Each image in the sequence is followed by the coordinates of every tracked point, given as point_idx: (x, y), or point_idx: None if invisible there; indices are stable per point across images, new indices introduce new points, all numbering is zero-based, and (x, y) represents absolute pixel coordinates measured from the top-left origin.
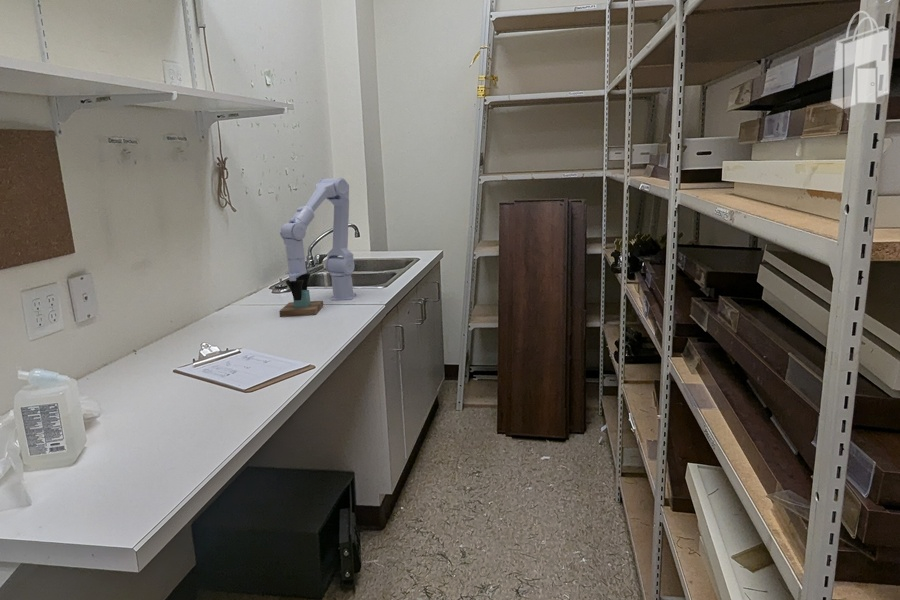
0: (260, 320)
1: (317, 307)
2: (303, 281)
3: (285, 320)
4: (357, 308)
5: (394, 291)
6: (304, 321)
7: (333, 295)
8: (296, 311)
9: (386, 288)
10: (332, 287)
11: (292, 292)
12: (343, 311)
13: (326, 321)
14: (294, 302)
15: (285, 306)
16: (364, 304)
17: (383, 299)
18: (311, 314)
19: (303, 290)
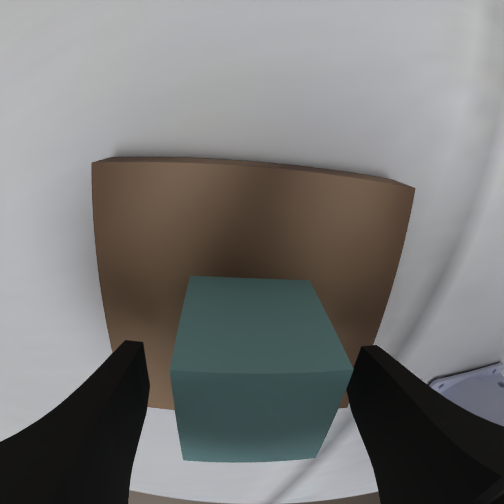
0: (77, 32)
1: None
2: (399, 489)
3: (40, 220)
4: (237, 477)
5: None
6: (30, 331)
7: (459, 391)
8: (107, 298)
9: None
10: (481, 414)
11: (76, 398)
12: None
13: (47, 405)
14: (183, 307)
15: (267, 177)
16: (293, 481)
17: (335, 495)
18: None
19: (308, 433)
